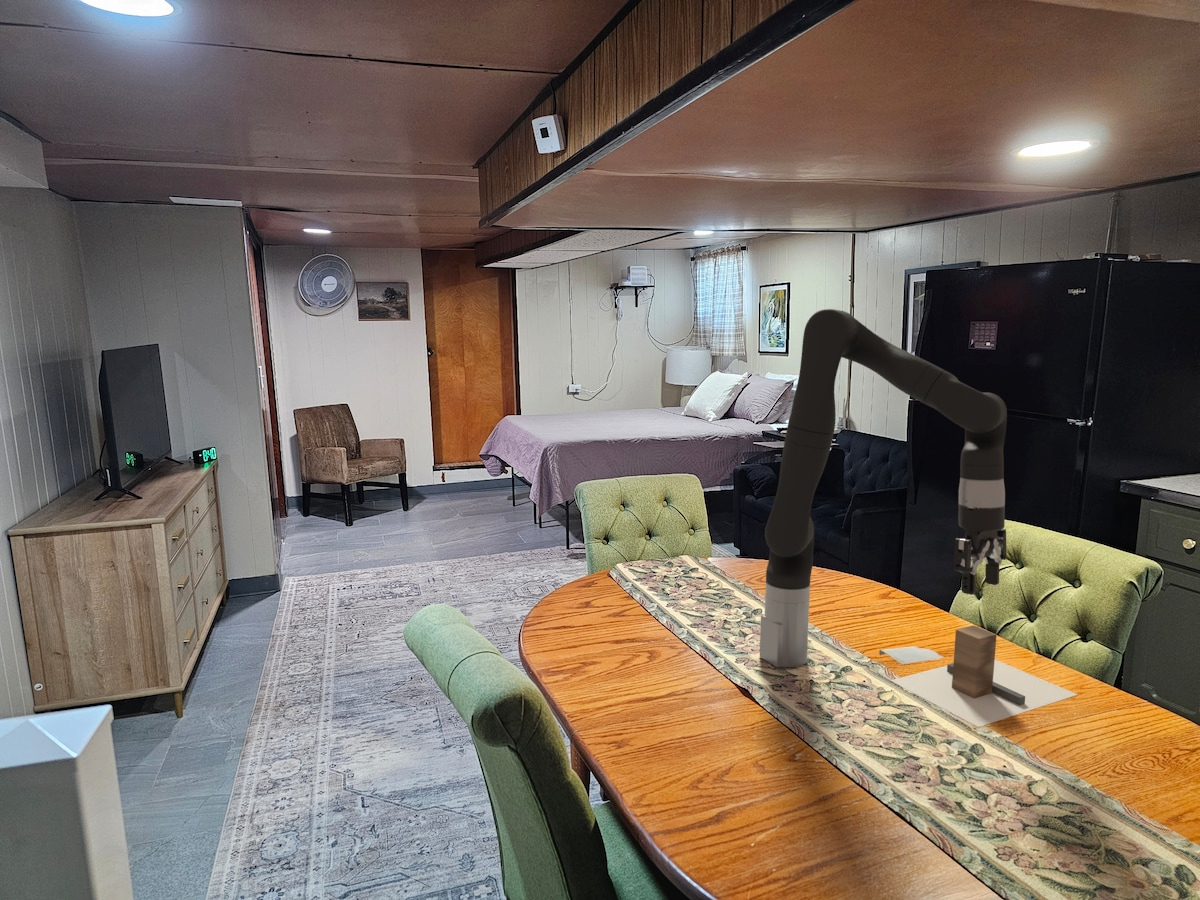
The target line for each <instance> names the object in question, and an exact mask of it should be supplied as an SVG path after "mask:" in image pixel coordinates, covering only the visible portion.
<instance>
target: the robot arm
mask: <svg viewBox="0 0 1200 900" xmlns="http://www.w3.org/2000/svg"><path fill="white" fill-rule="evenodd" d="M801 346H802V347H801V348H802V349H801V357H800V366H799V367H800V369H799V375H798V380H797V385H796V387H795V388H796V389H795V392H794V397H793V401H792V407H791V412H790V415H789V419H788V423H787V427H786V433H785V436H784V437H785V438H784V443H783V448H782V455H781V462H780V468H779V469H780V471H779V478H778V485H777V489H776V494H775V497H774V499H773V504H772V508H771V511H770V514H769V517H768V519H767V523H766V525H765V528H764V538H765V542H766V545H767V547H768V548H769V557H768V562H767V567H766V571H765V572H766V573H765V596H764V597H765V598H764V614H763V615H761V616H760V632H759V633H760V635H759V637H760V638H759V658H761V659H763V660H764V661H765V662H767V663H769V664H770V665H772V666H774V667H775V668H798V667H802V666H804V665H805V664H807V661H808V645H809V644H808V643H809V617H810V616H809V615H810V595H811V594H810V592H811V576H812V571H813V562H814V560H813V559H814V549H815V548H814V544H815V526H814V522H813V520H812V518H811V510H812V506H813V505H812V503H813V499H814V496H815V492H816V490H817V487H818V485H819V482H820V480H821V477H822V475H823V473H824V470H825V467H826V464H827V462H828V459H829V454H830V451H831V447H832V443H833V439H834V434H835V427H836V416H837V415H836V401H835V400H836V398H835V385H836V378H837V373H838V370H839V368H840V367H839V365H840V362H841V359H842V358H843V359H845V360H849V361H851V362H854V363H857V364H859V365H862V366H863V367H866V368H868V369H869V370H871V371H873V372H874V373H876V374H877V375H879V376H880V377H881V378H882V379H885V380H886V381H887V382H889V384H890V385H892V386H893V387H895V388H897V389H898V390H900V391H901V392H903V393H904V394H905V395H908V396H910V397H911V398H913V399H914V400H917V401H919V402H920V403H922V404H923V405H926V406H928V407H930V408H933V409H935V410H936V411H938V412H939V413H940V414H942V416H944V417H946V418H947V419H949V420H950V421H951V422H953V423H954V424H956V425H958V426H959V427H961V428H963V429H964V445H963V448H962V450H961V454H960V472H959V473H960V474H959V475H960V478H959V484H958V485H959V486H958V526H959V527H960V528H962V529H964V530H965V535H964V538H958V537H956V538H955V540H954V555H953V557H954V558H953V571H955V572H959V573H961V592H962V593H963V594H967V595H971V596H972V595H975V594H976V587H977V586H976V583H977V581H976V580H977V579H976V575H977V574H976V573H977V569H978V566H979V565H981V564H983V561H985V583H986V584H988V585H993V586H997V585H999V584H1000V566H1001V565H1002V563H1003V562H1002V561H1005V560H1007V530H1006V528H1005V524H1006V523H1005V517H1006V516H1005V515H1006V513H1005V509H1006V506H1005V505H1006V490H1005V489H1006V488H1005V481H1004V475H1005V474H1004V472H1005V470H1004V469H1005V468H1004V466H1005V464H1004V463H1005V462H1004V460H1005V459H1004V458H1005V457H1004V445H1005V439H1006V432H1007V424H1008V423H1007V422H1008V420H1007V418H1008V412H1007V410H1008V409H1007V405H1006V404H1005V403H1006V402H1005V401H1004V400H1003V399H1002V398H1001V397H1000V396H999V395H998V394H995V393H992V392H982V391H980V390H977V389H975V388H973V387H971V386H969V385H967V384H966V383H963V382H961V381H959V379H958V377H956V376H955V375H954V374H952V373H951V372H949V371H947V370H945V369H943V368H941V367H939V366H937V365H936V364H933V363H931V362H930V361H927V360H926V359H923V358H921V357H919V356H917V355H915V354H914V353H913V354H912V353H911V352H908V351H907V350H904V349H902V348H900V347H898V346H896V345H894V344H893V343H891V342H889V341H887V340H885V339H884V338H882V337H881V336H879V335H878V334H876V333H875V332H873V331H872V330H871V329H869V328H868V327H867V326H865V325H864V324H863V323H861V321H859V320H858V319H856V318H855V317H854V316H853V315H852V314H851V313H849V312H847V311H845V310H840V309H834V308H823V309H820V310H818V311H816V312H815V313H813V314H812V315H811V316H810V317H809V319H808V320H807V322H806V324H805V327H804V330H803V335H802V345H801Z"/></svg>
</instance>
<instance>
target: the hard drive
mask: <svg viewBox="0 0 1200 900" xmlns="http://www.w3.org/2000/svg"><path fill="white" fill-rule="evenodd" d="M879 655H880V656H882V655H887V656H889V657H890V658H892V659H893V660H894V661H896V662H898V663H899V664H901V665H905V664H913V663H919V662H926V661H927V662H928V661H934V660H940V659H943V658H944V656H943V655H940V654H939V653H938V652H936V651H934V650H932V649H928V648H922V647H918V646H916V645H913V646H906V647H905V646H903V647H896V648H887V649H886V648H885V649H880V650H879Z"/></svg>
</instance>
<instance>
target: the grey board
mask: <svg viewBox="0 0 1200 900" xmlns="http://www.w3.org/2000/svg"><path fill="white" fill-rule="evenodd" d="M953 663H954V662H952V663H949V664H948V663H947V665H944V666H939V667H936V668H932V669H928V670H924V671H922V672H917V673H913V674H910V675H906V676H901V677H898V678H895V679H891V680H890V682H891V683H893V684H895V685H897V686H900V687H901V688H903V689H906V690H908V691H909V692H911V693H912V694H915V695H916V696H918V697H920V698H922V699H924V700H926V701H928V702H930V703H932V704H934V705H935V706H937V707H939V708H941V709H943V710H945V711H947V712H949V713H950V714H953V715H954V716H956V717H958V718H960V719H962V720H963V721H966V722H968V723H969V724H971V725H973V726H976V727H977V728H981V727H983V726H986V725H989V724H992V723H995V722H998V721H1001V720H1005V719H1008V718H1012V717H1015V716H1017V715H1020V714H1024V713H1026V712H1029V711H1032V710H1036V709H1039V708H1042V707H1045V706H1048V705H1051V704H1054V703H1056V702H1060V701H1063V700H1067V699H1069V698H1072V697H1076V696H1078V693H1076V692H1072V691H1070V690H1068V689H1065V688H1064V687H1062V686H1058V685H1056V684H1054V683H1051V682H1050V681H1047V680H1044V679H1041V678H1039V677H1038V676H1035V675H1033V674H1030V673H1029V672H1025V671H1023V670H1021V669H1019V668H1016V667H1014V666H1011V665H1009V664H1007V663H1005V662H1002V661H1000V660H997V659H995V661H994V673H993V685H992V693H991V694H988V695H985V696H981V697H978V698H975V699H974V698H972V697H970V696H968V695H966V694H964V693H962V692H959V691H957V690H955V689H953V688H952V677H953Z"/></svg>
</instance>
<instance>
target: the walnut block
mask: <svg viewBox="0 0 1200 900" xmlns="http://www.w3.org/2000/svg"><path fill="white" fill-rule="evenodd" d="M997 637H998V636H997V633H994V632H992V631H989V630H986V629H984V628H981V627H978V626H976V625H969V626H964V627H961V628H957V629H955V637H954V638H955V639H954V653H953V662H952V663H953V677H952V688H953V689H955V690H957V691H959V692H962V693H964V694H966V695H968V696H970V697H972V698H974V699H975V698H978V697H981V696H985V695H988V694H991V693H992V685H993V673H994V661H995V660H996V659H995V658H996V646H997Z"/></svg>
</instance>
